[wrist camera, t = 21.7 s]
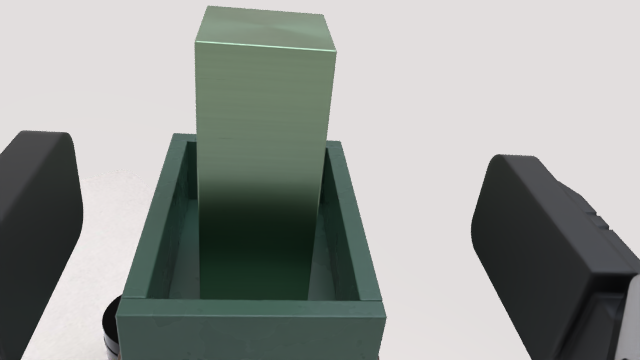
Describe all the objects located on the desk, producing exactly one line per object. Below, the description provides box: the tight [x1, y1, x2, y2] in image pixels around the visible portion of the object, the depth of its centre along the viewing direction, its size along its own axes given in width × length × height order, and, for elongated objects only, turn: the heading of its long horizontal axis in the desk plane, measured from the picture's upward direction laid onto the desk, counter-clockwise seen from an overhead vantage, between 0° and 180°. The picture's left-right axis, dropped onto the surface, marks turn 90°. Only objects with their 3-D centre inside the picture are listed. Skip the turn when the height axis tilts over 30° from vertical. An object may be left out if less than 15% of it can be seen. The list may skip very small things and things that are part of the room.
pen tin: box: [195, 6, 337, 300], centre depth 21 cm, size 4×4×11 cm
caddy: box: [116, 133, 387, 360], centre depth 24 cm, size 9×13×4 cm
